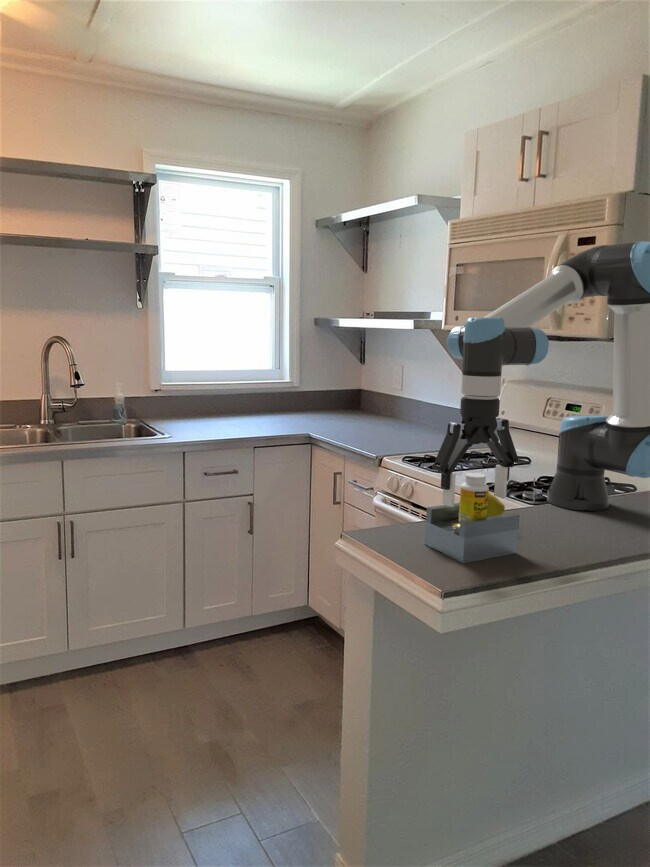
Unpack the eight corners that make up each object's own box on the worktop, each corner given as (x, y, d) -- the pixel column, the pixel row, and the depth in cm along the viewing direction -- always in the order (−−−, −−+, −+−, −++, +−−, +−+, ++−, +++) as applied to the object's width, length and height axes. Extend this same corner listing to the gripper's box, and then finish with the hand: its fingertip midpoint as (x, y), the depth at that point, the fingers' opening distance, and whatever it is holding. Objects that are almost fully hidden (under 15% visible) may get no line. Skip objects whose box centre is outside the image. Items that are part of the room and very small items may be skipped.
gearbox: (476, 535, 147) (479, 500, 145) (516, 553, 136) (519, 514, 135) (424, 544, 140) (426, 507, 139) (462, 563, 130) (465, 523, 128)
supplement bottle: (472, 529, 134) (475, 479, 132) (452, 522, 138) (455, 473, 136) (492, 525, 137) (495, 476, 135) (472, 518, 141) (475, 470, 140)
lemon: (449, 522, 156) (451, 489, 155) (468, 516, 161) (471, 484, 160) (489, 534, 148) (492, 498, 147) (508, 527, 154) (511, 493, 152)
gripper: (513, 391, 142) (507, 489, 146) (417, 397, 130) (413, 503, 134) (540, 395, 136) (533, 497, 140) (442, 402, 124) (437, 513, 128)
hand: (474, 500), depth 137 cm, fingers open, 13 cm apart
